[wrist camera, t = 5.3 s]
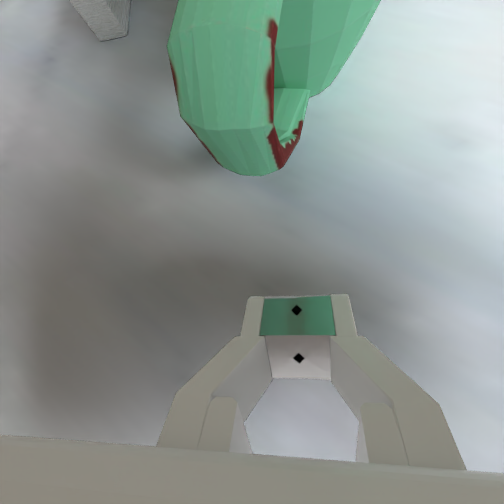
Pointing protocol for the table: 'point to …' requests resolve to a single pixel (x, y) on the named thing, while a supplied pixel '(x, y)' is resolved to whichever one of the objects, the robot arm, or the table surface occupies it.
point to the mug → (258, 71)
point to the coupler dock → (105, 16)
